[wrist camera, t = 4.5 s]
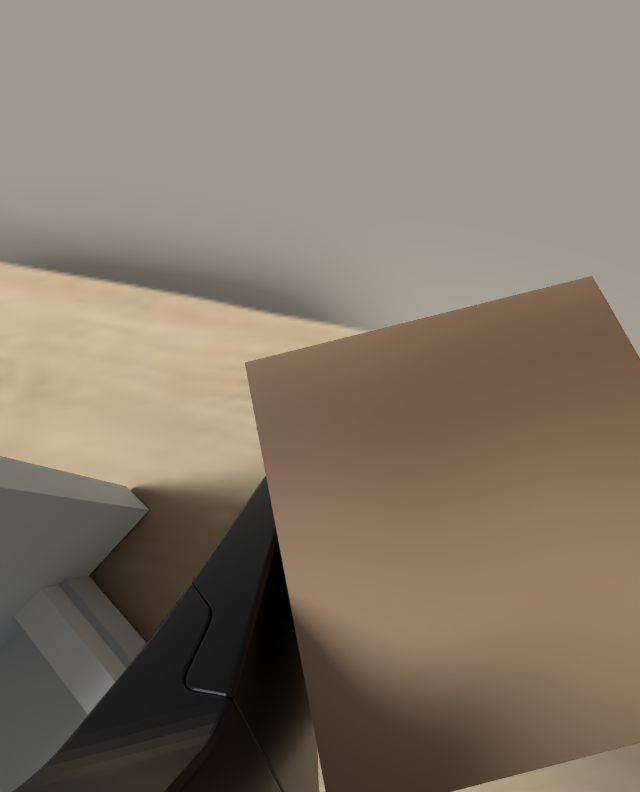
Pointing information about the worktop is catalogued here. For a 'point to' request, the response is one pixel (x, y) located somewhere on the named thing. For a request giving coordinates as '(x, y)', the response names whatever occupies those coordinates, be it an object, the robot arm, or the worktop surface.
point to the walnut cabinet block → (461, 538)
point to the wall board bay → (56, 608)
